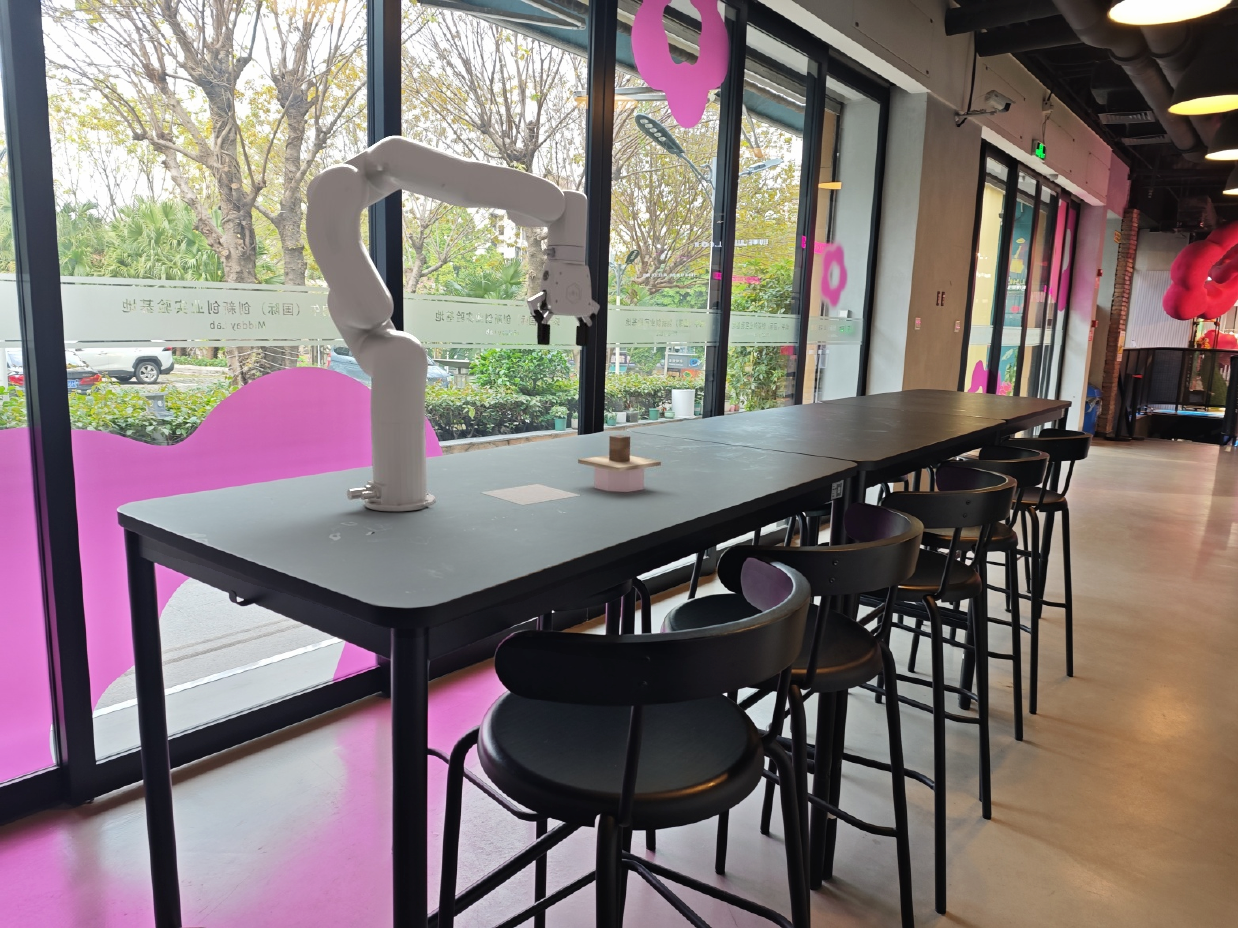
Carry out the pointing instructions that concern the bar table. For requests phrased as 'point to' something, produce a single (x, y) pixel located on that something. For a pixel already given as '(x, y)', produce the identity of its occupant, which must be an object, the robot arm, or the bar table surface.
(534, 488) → the mat
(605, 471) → the bowl
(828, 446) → the bar table surface
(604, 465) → the lid
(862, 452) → the bar table surface
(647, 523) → the bar table surface
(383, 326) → the robot arm
